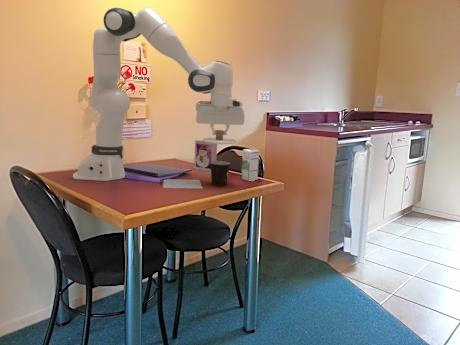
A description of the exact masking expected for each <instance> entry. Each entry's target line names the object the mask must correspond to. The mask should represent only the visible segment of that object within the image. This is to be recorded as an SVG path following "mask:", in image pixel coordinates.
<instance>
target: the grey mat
mask: <svg viewBox="0 0 460 345" xmlns="http://www.w3.org/2000/svg"><path fill="white" fill-rule="evenodd" d="M166 179H167V178H166ZM162 183H163V185H162V188H163V189H197V190H198V189H199V190H200V189H203V186H202V183H201V181H200V179H175V178H173V179H171V178H170V179H167V180H164V181H163V182H162Z"/></svg>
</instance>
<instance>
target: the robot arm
mask: <svg viewBox="0 0 460 345" xmlns="http://www.w3.org/2000/svg"><path fill="white" fill-rule="evenodd" d="M103 25H104V26H103V27H98V28H96V30H94V34H93V41H92V55H93V56H92V57H93V80H92V84H91V85H92V87H91V92H90V94H89V96H88V103H89V105H90V107H91V108H92V109H93V110H95V111H96V112H98V113H100V115H99V118H98V119H99V120H98V123H97V125H96V126H95V143H96V144H93V145H91V148H90V149H91V153H90V154H89V155H88V156H87V157H85V158H84V159H83V160H81V162H79V165H78V167H77V171H75V172H74V173H73V174H72V178H73V179H74V180H85V181H100V182H101V181H103V182H109V181H113V180H114V181H115V180H121V179H124V178H126V177H125V175H126V172H125V167H124V159H123V158H124V145H123V126H124V121H125V119H126V118H125V117H126V115H127V112H128V111H129V109H130V107H131V99H130V96H129V95H128V94H127V93H126V92H124V91H122V90H121V89H118V88H117V87H118V82H119V78H120V77H121V74H122V67H121V66H122V65H121V63H122V62H121V61H122V60H121V44H122V42H128V41H131V40H134V39H136V38H138V37H140V36H142V37H143V38H144V39H145V40H146V41H147V42H148V43H149V44H150V46H152V48H154V49H155V50H156V52H157V51H158V52H159V53H160V54H161V55H163V56H165V57H168V58H169V59H172V60H173V61H175V62H176V63H177V64H179V65H180V66H181V68H182V69H183V70H184V71H186V73H187V74H188V78H187V83H188V87H190V88H191V90H193V92H196V93H201V94H210V100H206V101H205V100H199V101H197V102H196V104H195V110H196V117H195V121H196V123H197V124H204V125H206V124H207V125H209V126H210V128H211V130H212V135H213V136H216V130H217V129H214V127H215V125H225V127H226V128H225V130H223V136H227V135H228V130H229V129H230V127H231V125H234V126H243V125H244V124H245V111H244V108H242V107H243V102H242V101H240V100H237V99H235V98H233V93H232V87H233V82H234V81H233V80H234V79H233V78H234V77H233V75H234V74H233V67H232V65H231V64H230V63H228V62H226V61H225V62H224V61H221V60H220V61H219V60H215V61H214V60H213V62H211V63H210V64H208V65H206V66H204V67H203V66H201V65H200V63H199V62H198V61H197V60H196V58H194V57H193V56H192V55H191V53H190V52H189V51H188V50H187V49H186V47H185V45H184V44H183V43H182V41H181V39H180V38H179V36H178V35H177V33H176V32H175V30H174V29H173V28H172V27H171V25H170V24H169V23H168V21H166V20H165V19H164V17H162V16H161V15H160V14H159V13H158V12H157V11H155V10H154V9H153V8H151V7H143V8H142V9H140V10H139V11H138V12H137V13H133V12H132V11H130V10H127V9H124V8H121V7H113V8H110V9H108V10H107V11H106V12H105V13H104V15H103Z"/></svg>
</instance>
